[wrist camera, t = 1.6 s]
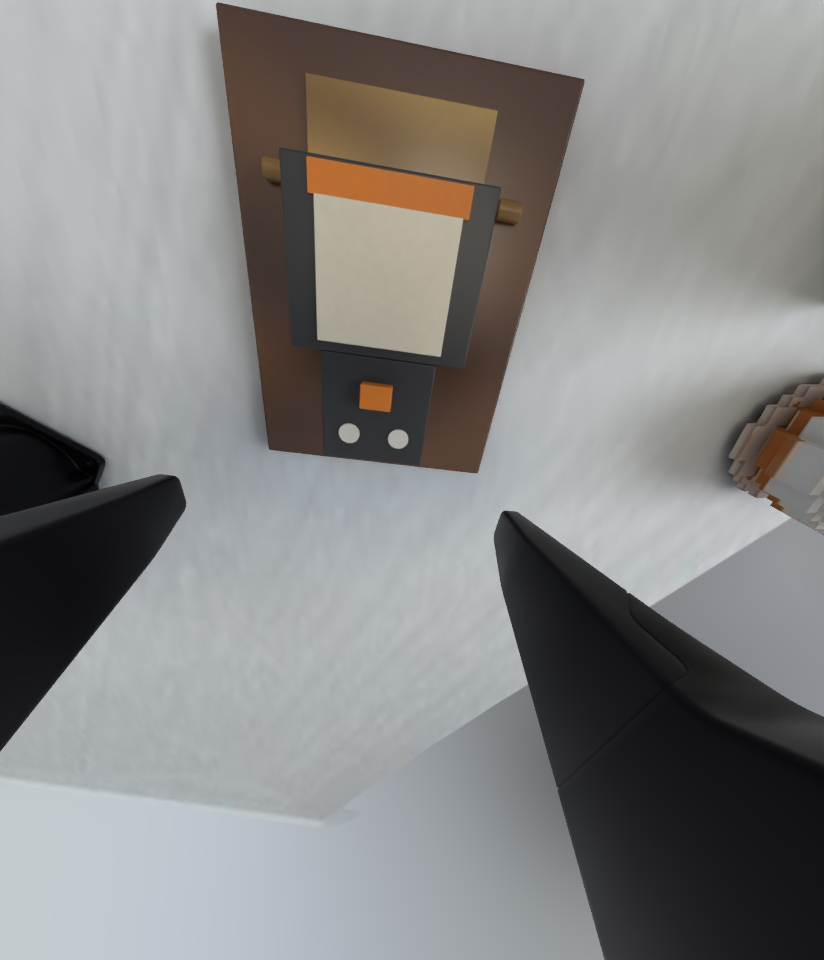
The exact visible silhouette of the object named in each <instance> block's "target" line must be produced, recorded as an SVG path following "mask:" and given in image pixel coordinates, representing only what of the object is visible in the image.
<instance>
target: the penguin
mask: <svg viewBox="0 0 824 960" xmlns="http://www.w3.org/2000/svg"><path fill="white" fill-rule="evenodd" d="M279 162H280V177H281V192H282V207H283V222H284V238H285V253H286V268H287V283H288V298H289V314H290V329H291V344H292V345H293V346H297V347H305V348H312V349H319V350H322V351H321V360H322V409H323V454H324V455H329V456H338V457H346V458H355V459H364V460H373V461H381V462H390V463H399V464H408V465H416V466H420V464H421V457H422V451H423V445H424V439H425V433H426V426H427V420H428V414H429V408H430V402H431V395H432V389H433V383H434V377H435V371H436V366H443V367H450V368H457V369H464V368H465V363H466V358H467V353H468V348H469V343H470V339H471V334H472V329H473V324H474V319H475V314H476V310H477V305H478V300H479V295H480V290H481V285H482V280H483V276H484V271H485V266H486V261H487V256H488V251H489V247H490V242H491V237H492V232H493V227H494V222H495V218H496V213H497V208H498V203H499V198H500V193H501V188H500V187H497V186H492V185H486V184H481V183H475V182H470V181H464V180H459V179H453V178H448V177H442V176H437V175H431V174H426V173H420V172H414V171H409V170H403V169H398V168H392V167H387V166H381V165H376V164H370V163H365V162H359V161H354V160H348V159H343V158H337V157H332V156H326V155H320V154H315V153H309V152H304V151H298V150H293V149H287V148H282V147H281V148H279ZM435 365H436V366H435Z"/></svg>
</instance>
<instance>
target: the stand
mask: <svg viewBox="0 0 824 960" xmlns="http://www.w3.org/2000/svg"><path fill="white" fill-rule="evenodd" d="M216 9H217V17H218V25H219V34H220V42H221V51H222V59H223V67H224V76H225V84H226V92H227V101H228V109H229V118H230V126H231V134H232V143H233V151H234V159H235V168H236V176H237V185H238V193H239V201H240V210H241V218H242V226H243V235H244V243H245V252H246V260H247V268H248V277H249V285H250V293H251V302H252V310H253V319H254V327H255V335H256V344H257V352H258V360H259V369H260V377H261V386H262V394H263V402H264V411H265V419H266V427H267V436H268V444H269V449H270V450H276V451H285V452H294V453H303V454H312V455H320V456H329V455H324V454H323V409H322V360H321V351H322V350H319V349H312V348H305V347H297V346H293V345H292V344H291V329H290V314H289V298H288V283H287V268H286V253H285V238H284V222H283V207H282V192H281V177H280V162H279V148H281V147H282V148H287V149H293V150H298V151H304V152H309V153H315V154H320V155H326V156H332V157H337V158H343V159H348V160H354V161H359V162H365V163H370V164H376V165H381V166H387V167H392V168H398V169H403V170H409V171H414V172H420V173H426V174H431V175H437V176H442V177H448V178H453V179H459V180H464V181H470V182H475V183H481V184H486V185H492V186H497V187H500V188H501V193H500V198H499V203H498V208H497V213H496V218H495V222H494V227H493V232H492V237H491V242H490V247H489V251H488V256H487V261H486V266H485V271H484V276H483V280H482V285H481V290H480V295H479V300H478V305H477V310H476V314H475V319H474V324H473V329H472V334H471V339H470V343H469V348H468V353H467V358H466V363H465V368H464V369H457V368H450V367H443V366H436V365H435V366H436V371H435V377H434V383H433V389H432V395H431V402H430V408H429V414H428V420H427V426H426V433H425V439H424V445H423V451H422V457H421V464H420V466H417V467H426V468H434V469H443V470H452V471H461V472H470V473H478V470H479V466H480V463H481V459H482V455H483V452H484V448H485V444H486V441H487V437H488V434H489V430H490V426H491V423H492V419H493V415H494V412H495V408H496V404H497V401H498V397H499V393H500V390H501V386H502V382H503V379H504V375H505V371H506V368H507V364H508V360H509V357H510V353H511V349H512V346H513V342H514V338H515V335H516V331H517V327H518V324H519V320H520V316H521V313H522V309H523V305H524V302H525V298H526V295H527V291H528V287H529V284H530V280H531V276H532V273H533V269H534V265H535V262H536V258H537V254H538V251H539V247H540V243H541V240H542V236H543V232H544V229H545V225H546V221H547V218H548V214H549V210H550V207H551V203H552V199H553V196H554V192H555V188H556V185H557V181H558V177H559V174H560V170H561V167H562V163H563V159H564V156H565V152H566V148H567V145H568V141H569V137H570V134H571V130H572V126H573V123H574V119H575V115H576V112H577V108H578V104H579V101H580V97H581V93H582V90H583V86H584V79H580V78H575V77H571V76H566V75H561V74H556V73H552V72H547V71H542V70H537V69H533V68H528V67H523V66H518V65H513V64H509V63H504V62H499V61H494V60H490V59H485V58H480V57H475V56H471V55H466V54H461V53H456V52H452V51H447V50H442V49H437V48H432V47H428V46H423V45H418V44H413V43H409V42H404V41H399V40H394V39H390V38H385V37H380V36H375V35H370V34H366V33H361V32H356V31H351V30H347V29H342V28H337V27H332V26H328V25H323V24H318V23H313V22H309V21H304V20H299V19H294V18H289V17H285V16H280V15H275V14H270V13H266V12H261V11H256V10H251V9H247V8H242V7H237V6H232V5H228V4H223V3H216ZM329 457H338V456H329ZM338 458H346V457H338ZM347 459H355V458H347ZM355 460H364V459H355ZM364 461H373V460H364ZM373 462H381V461H373ZM382 463H390V462H382ZM391 464H399V463H391ZM399 465H408V464H399ZM408 466H416V465H408Z"/></svg>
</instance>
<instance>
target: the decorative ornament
mask: <svg viewBox="0 0 824 960" xmlns="http://www.w3.org/2000/svg"><path fill="white" fill-rule="evenodd" d="M728 457H729V458H731V459H733V460H735V461H734V462H733V464H732V466H731V467H730V469H729V471H728V473H730V474H732V475H734V477H733V478H732V480H734V481H736V482H738V484H737V485H736V487H738V488H739V489H741V490H743V491H749V492H748V494H750V495H752V496H754V497H756V498H767V499H769V500H771V501H773V502H772V504H771V505H770V506H772V507H774V508H776V509H777V510H779V511H781V512H783V513H785V514H786V515H788V516H790V517H792V518H794V519H795V520H797V521H799V522H801V523H803V524H804V525H806V526H808V527H810V528H812V529H814V530H815V531H817V532H819V533H821V534H823V535H824V377H823V379H822V380H821V382H820V383H819V384H801V385H798V387H797V388H796V390H795V392H794V393H793V395H782V397H781V399H780V400H779V402H778V404H771V405H767V406H766V408H765V409H764V411H763V413H762V415H761V416H760V418H759V420H758V421H757V423H747V424H746V426H745V428H744V430H743V431H742V433H741V435H740V437H739V438H738V440H737V442H736V444H735V445H734V447H733V449H732V451H731V452H730V454H729V456H728Z"/></svg>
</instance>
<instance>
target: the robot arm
mask: <svg viewBox="0 0 824 960" xmlns="http://www.w3.org/2000/svg"><path fill="white" fill-rule="evenodd" d="M104 466H105V460H104V459H103V458H102V457H101V456H100V455H98V454H96V453H95V452H93V451H91V450H89V449H87V448H85V447H83V446H81V445H79V444H77V443H75V442H73V441H71V440H69V439H68V438H66V437H64V436H62V435H60V434H58V433H56V432H54V431H52V430H50V429H48V428H46V427H44V426H42V425H41V424H39V423H37V422H35V421H33V420H31V419H29V418H27V417H25V416H23V415H21V414H19V413H17V412H16V411H14V410H12V409H10V408H8V407H6V406H4V405H2V404H0V751H1V750H2V749H3V747H4V746H5V745H6V744H7V742H8V741H9V740H10V739H11V737H12V736H13V735H14V734H15V732H16V731H17V730H18V729H19V727H20V726H21V725H22V724H23V722H24V721H25V720H26V719H27V717H28V716H29V715H30V713H31V712H32V711H33V710H34V708H35V707H36V706H37V705H38V703H39V702H40V701H41V700H42V698H43V697H44V696H45V695H46V693H47V692H48V691H49V690H50V688H51V687H52V686H53V684H54V683H55V682H56V681H57V679H58V678H59V677H60V676H61V674H62V673H63V672H64V671H65V669H66V668H67V667H68V666H69V664H70V663H71V662H72V661H73V659H74V658H75V657H76V656H77V654H78V653H79V652H80V650H81V649H82V648H83V647H84V645H85V644H86V643H87V642H88V640H89V639H90V638H91V637H92V635H93V634H94V633H95V632H96V630H97V629H98V628H99V627H100V625H101V624H102V623H103V621H104V620H105V619H106V618H107V616H108V615H109V614H110V613H111V611H112V610H113V609H114V608H115V606H116V605H117V604H118V603H119V601H120V600H121V599H122V598H123V596H124V595H125V594H126V593H127V591H128V590H129V589H130V587H131V586H132V585H133V584H134V582H135V581H136V580H137V579H138V577H139V576H140V575H141V574H142V572H143V571H144V570H145V569H146V567H147V566H148V565H149V563H150V562H151V561H152V559H153V558H154V557H155V555H156V554H157V552H158V551H159V549H160V548H161V546H162V545H163V543H164V542H165V540H166V539H167V537H168V535H169V534H170V532H171V531H172V529H173V528H174V526H175V524H176V523H177V521H178V520H179V518H180V517H181V515H182V513H183V512H184V510H185V507H186V499H185V496H184V493H183V489H182V486H181V483H180V480H179V479H178V478H177V477H176V476H171V475H162V474H159V475H154V476H150V477H147V478H143V479H139V480H135V481H132V482H128V483H124V484H120V485H116V486H113V487H109V488H105V489H101V490H99V486H98V484H99V481H100V478H101V475H102V472H103V469H104ZM494 544H495V550H496V557H497V563H498V569H499V576H500V582H501V587H502V591H503V595H504V599H505V602H506V606H507V609H508V613H509V617H510V620H511V624H512V627H513V631H514V635H515V638H516V642H517V645H518V649H519V653H520V656H521V660H522V663H523V667H524V671H525V674H526V678H527V681H528V685H529V689H530V692H531V696H532V699H533V703H534V707H535V710H536V714H537V717H538V721H539V724H540V728H541V732H542V735H543V739H544V742H545V746H546V750H547V753H548V757H549V760H550V764H551V768H552V771H553V775H554V778H555V782H556V786H557V787H558V794H559V797H560V801H561V804H562V808H563V812H564V815H565V819H566V823H567V826H568V830H569V833H570V836H571V840H572V844H573V848H574V851H575V855H576V859H577V862H578V865H579V869H580V873H581V876H582V880H583V884H584V887H585V891H586V894H587V898H588V902H589V905H590V909H591V912H592V916H593V920H594V923H595V927H596V930H597V934H598V938H599V941H600V945H601V948H602V952H603V956H604V959H605V960H824V717H823V716H820V715H818V714H816V713H814V712H812V711H809V710H807V709H806V708H804V707H802V706H800V705H798V704H796V703H794V702H793V701H791V700H789V699H788V698H786V697H784V696H783V695H781V694H779V693H778V692H776V691H775V690H773V689H772V688H770V687H768V686H767V685H765V684H764V683H762V682H761V681H759V680H758V679H756V678H755V677H753V676H752V675H750V674H749V673H747V672H745V671H744V670H742V669H741V668H739V667H738V666H736V665H735V664H733V663H732V662H730V661H729V660H727V659H726V658H724V657H722V656H721V655H719V654H718V653H716V652H715V651H713V650H712V649H710V648H709V647H707V646H706V645H704V644H703V643H701V642H699V641H698V640H697V639H695V638H693V637H692V636H691V635H689V634H687V633H686V632H685V631H683V630H682V629H680V628H679V627H677V626H676V625H674V624H673V623H671V622H669V621H668V620H667V619H665V618H664V617H662V616H661V615H660V614H658V613H657V612H655V611H654V610H652V609H651V608H650V607H648V606H647V605H645V604H644V603H643V602H641V601H640V600H639V599H637V598H636V597H634V596H633V595H632V594H630V593H627V591H626V590H625V589H623V588H622V587H620V586H619V585H618V584H616V583H615V582H614V581H612V580H611V579H609V578H608V577H607V576H605V575H604V574H602V573H601V572H600V571H598V570H597V569H596V568H594V567H593V566H591V565H590V564H589V563H587V562H586V561H584V560H583V559H582V558H580V557H579V556H578V555H576V554H575V553H573V552H572V551H571V550H569V549H568V548H566V547H565V546H564V545H562V544H561V543H560V542H558V541H557V540H555V539H554V538H553V537H551V536H550V535H549V534H547V533H546V532H544V531H543V530H542V529H540V528H539V527H537V526H536V525H535V524H533V523H532V522H531V521H529V520H528V519H526V518H525V517H524V516H522V515H521V514H519V513H518V512H514V511H503V512H502V513H501V515H500V518H499V521H498V524H497V527H496V530H495V533H494Z"/></svg>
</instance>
